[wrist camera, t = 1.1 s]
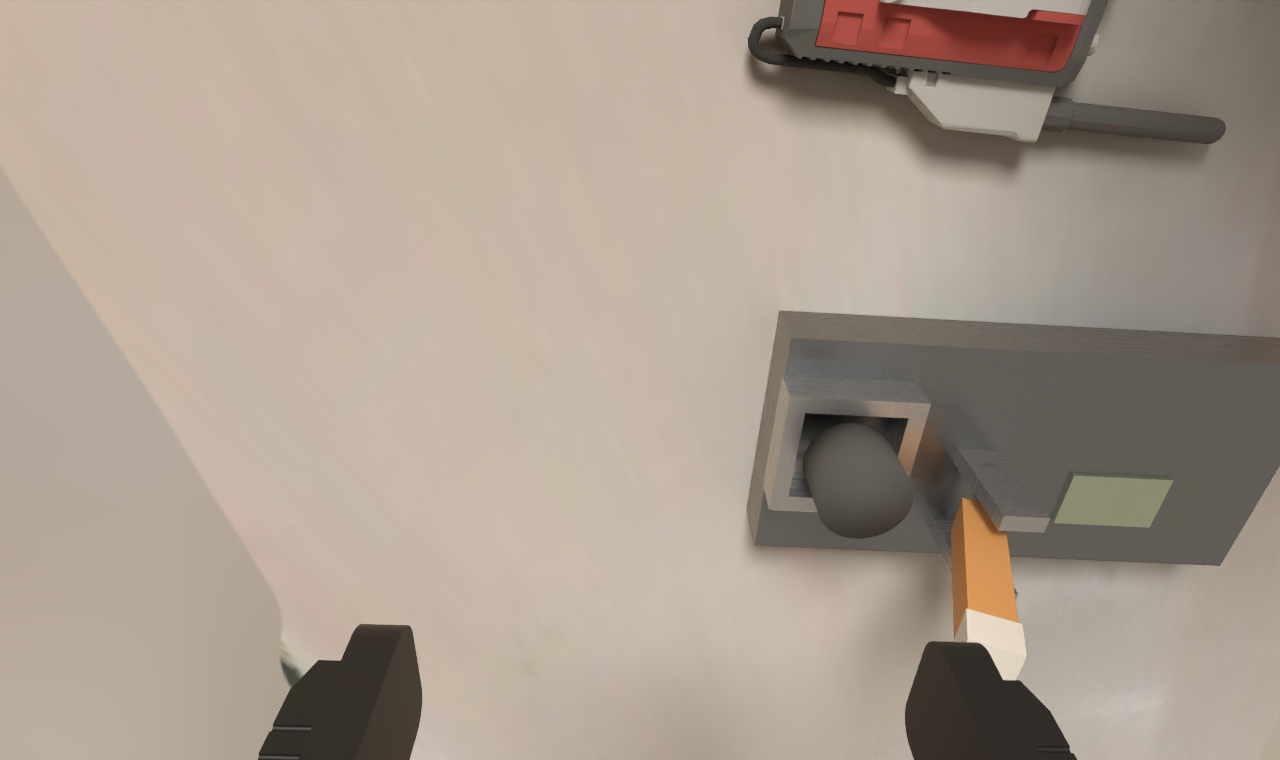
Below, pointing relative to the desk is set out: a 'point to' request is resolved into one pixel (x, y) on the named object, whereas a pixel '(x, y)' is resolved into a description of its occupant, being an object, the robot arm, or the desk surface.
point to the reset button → (857, 481)
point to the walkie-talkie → (971, 62)
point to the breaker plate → (1028, 433)
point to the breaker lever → (985, 589)
